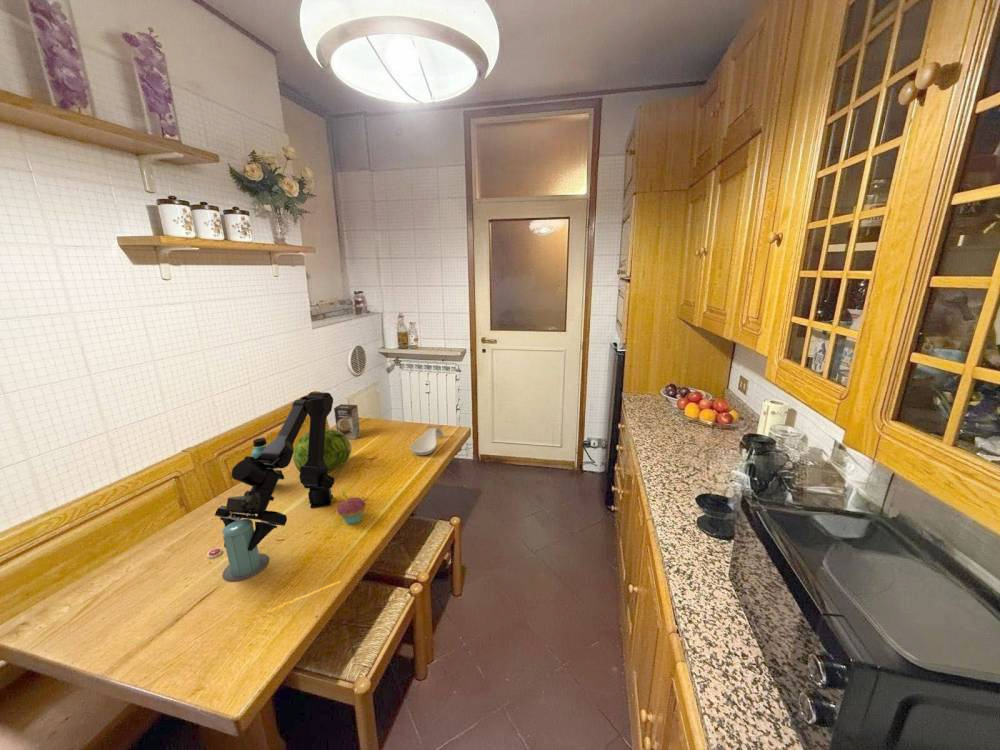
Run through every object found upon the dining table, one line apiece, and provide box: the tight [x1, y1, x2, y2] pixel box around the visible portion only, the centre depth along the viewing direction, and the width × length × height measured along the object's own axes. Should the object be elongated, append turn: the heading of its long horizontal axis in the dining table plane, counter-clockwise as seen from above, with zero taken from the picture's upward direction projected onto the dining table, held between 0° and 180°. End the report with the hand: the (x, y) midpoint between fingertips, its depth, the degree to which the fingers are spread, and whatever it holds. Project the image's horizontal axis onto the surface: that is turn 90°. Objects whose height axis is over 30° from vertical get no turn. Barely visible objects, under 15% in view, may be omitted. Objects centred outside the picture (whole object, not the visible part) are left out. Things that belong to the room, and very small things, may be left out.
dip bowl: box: [206, 547, 223, 559], centre depth 115 cm, size 4×4×1 cm
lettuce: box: [292, 428, 352, 473], centre depth 164 cm, size 18×23×19 cm
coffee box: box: [333, 403, 361, 440], centre depth 196 cm, size 9×6×16 cm
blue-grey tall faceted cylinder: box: [222, 518, 261, 576], centre depth 108 cm, size 7×7×13 cm
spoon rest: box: [409, 427, 444, 456], centre depth 183 cm, size 24×12×7 cm, turn 168°
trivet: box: [221, 552, 270, 583], centre depth 109 cm, size 11×11×1 cm
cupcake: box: [336, 487, 367, 525], centre depth 129 cm, size 9×8×12 cm
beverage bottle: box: [251, 437, 276, 471], centre depth 149 cm, size 6×7×20 cm
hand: (237, 549), depth 106 cm, fingers open, 7 cm apart
